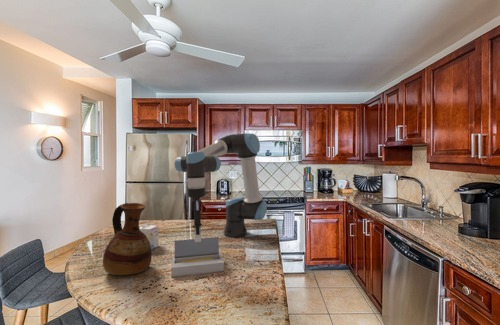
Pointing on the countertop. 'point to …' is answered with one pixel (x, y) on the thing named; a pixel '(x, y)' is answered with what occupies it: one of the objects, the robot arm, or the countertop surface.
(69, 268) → the countertop surface
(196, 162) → the robot arm
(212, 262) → the open grey pill case
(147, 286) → the countertop surface
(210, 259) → the yellow pill capsule
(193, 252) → the cover
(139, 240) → the ceramic pitcher
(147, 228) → the ink box
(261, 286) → the countertop surface
